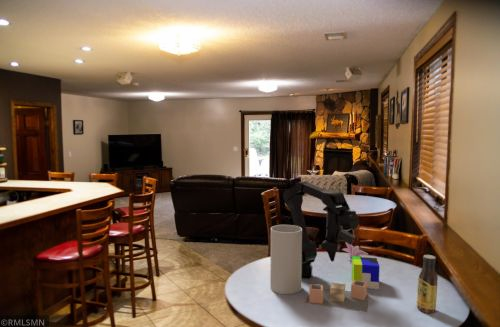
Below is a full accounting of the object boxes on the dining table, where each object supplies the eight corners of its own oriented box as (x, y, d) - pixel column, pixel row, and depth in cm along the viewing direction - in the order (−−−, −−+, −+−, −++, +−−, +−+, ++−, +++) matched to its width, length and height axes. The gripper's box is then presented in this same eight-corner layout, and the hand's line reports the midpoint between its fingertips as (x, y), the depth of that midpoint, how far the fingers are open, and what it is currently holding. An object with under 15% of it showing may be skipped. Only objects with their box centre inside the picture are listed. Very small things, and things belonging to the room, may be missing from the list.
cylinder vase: (303, 285, 158) (304, 226, 156) (297, 297, 146) (298, 233, 144) (275, 281, 162) (275, 223, 160) (266, 292, 150) (266, 231, 148)
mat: (305, 303, 141) (305, 302, 141) (312, 287, 156) (312, 286, 156) (366, 313, 133) (366, 311, 133) (368, 294, 148) (368, 293, 148)
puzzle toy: (378, 290, 153) (379, 266, 152) (353, 288, 155) (353, 264, 154) (375, 280, 163) (376, 258, 162) (351, 278, 165) (352, 256, 164)
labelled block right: (350, 297, 145) (351, 284, 145) (353, 292, 150) (354, 279, 149) (364, 300, 143) (364, 286, 143) (366, 295, 147) (367, 282, 147)
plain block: (330, 300, 143) (330, 287, 142) (331, 295, 147) (332, 282, 147) (343, 302, 141) (343, 289, 141) (344, 296, 146) (345, 284, 145)
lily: (370, 267, 182) (372, 247, 185) (351, 260, 178) (353, 240, 181) (353, 267, 192) (355, 248, 196) (334, 260, 188) (337, 242, 192)
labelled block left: (309, 302, 141) (309, 288, 140) (309, 296, 146) (309, 283, 145) (322, 303, 140) (323, 289, 140) (322, 297, 145) (322, 284, 145)
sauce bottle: (413, 306, 139) (415, 253, 137) (429, 305, 139) (431, 252, 138) (422, 314, 132) (425, 259, 131) (440, 314, 133) (442, 258, 131)
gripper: (352, 231, 140) (350, 272, 142) (357, 220, 157) (355, 256, 159) (321, 228, 144) (320, 268, 146) (330, 217, 161) (328, 253, 163)
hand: (332, 261), depth 153 cm, fingers closed
